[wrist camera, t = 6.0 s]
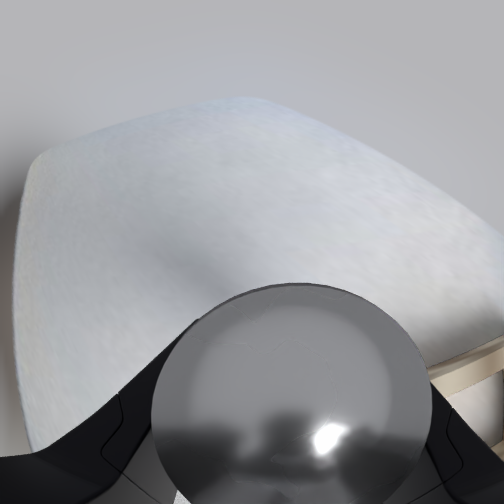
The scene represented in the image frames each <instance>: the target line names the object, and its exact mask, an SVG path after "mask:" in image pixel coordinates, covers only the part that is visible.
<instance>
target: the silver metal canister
mask: <svg viewBox="0 0 504 504" xmlns="http://www.w3.org/2000/svg"><path fill="white" fill-rule="evenodd" d="M431 416H432V391H431V385H430V379H429V375H428V372H427V369H426V366H425V363H424V360H423V358H422V356H421V354H420V352H419V350H418V348H417V346H416V345H415V344H414V342H413V341H412V339H411V338H410V336H409V335H408V333H407V332H406V331H405V330H404V329H403V328H402V327H401V326H400V325H399V324H398V323H397V322H396V321H395V320H394V319H393V318H392V317H390V316H389V315H388V314H387V313H385V312H384V311H383V310H382V309H380V308H379V307H377V306H376V305H374V304H372V303H371V302H369V301H367V300H366V299H364V298H362V297H360V296H358V295H355V294H353V293H350V292H348V291H346V290H342V289H338V288H335V287H331V286H327V285H320V284H312V283H284V284H276V285H269V286H265V287H261V288H257V289H253V290H250V291H247V292H245V293H242V294H240V295H237V296H234V297H232V298H230V299H229V300H227V301H225V302H223V303H221V304H219V305H217V306H216V307H214V308H213V309H212V310H210V311H209V312H208V313H206V314H205V315H203V316H202V317H201V318H200V319H199V320H198V321H197V322H195V323H194V324H193V325H192V326H191V327H190V328H189V329H188V330H187V331H186V333H185V334H184V335H183V336H182V337H181V339H180V340H179V341H178V342H177V344H176V345H175V347H174V349H173V350H172V352H171V354H170V355H169V357H168V359H167V360H166V362H165V364H164V366H163V368H162V371H161V373H160V375H159V378H158V380H157V384H156V387H155V391H154V395H153V402H152V411H151V421H152V433H153V439H154V444H155V447H156V450H157V453H158V456H159V459H160V462H161V464H162V466H163V468H164V470H165V472H166V473H167V475H168V477H169V478H170V480H171V481H172V483H173V484H174V485H175V487H176V488H177V489H178V490H179V492H180V493H181V494H182V495H183V496H184V497H185V498H186V499H187V500H188V501H189V502H190V503H191V504H382V503H383V502H385V501H386V500H387V499H388V498H389V497H390V496H391V495H392V494H393V493H394V492H395V491H396V490H397V489H398V488H399V487H400V486H401V485H402V483H403V482H404V481H405V480H406V478H407V477H408V476H409V474H410V473H411V471H412V470H413V468H414V466H415V465H416V463H417V461H418V459H419V457H420V455H421V453H422V450H423V448H424V446H425V443H426V440H427V436H428V433H429V429H430V424H431Z"/></svg>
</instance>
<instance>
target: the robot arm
mask: <svg viewBox="0 0 504 504" xmlns="http://www.w3.org/2000/svg"><path fill="white" fill-rule="evenodd" d="M198 320H199V319H196V320H195V321H194V322H193V323H192V324H191V325H189V326H188V327H187V328H186V329H185V330H184V331H183V332H182V333H181V334H180V335H179V336H178V337H177V338H176V339H175V340H174V341H173V342H171V343H170V344H169V345H168V346H167V347H166V348H165V349H164V350H163V351H162V352H161V353H160V354H159V355H158V356H157V357H155V358H154V359H153V360H152V361H151V362H150V363H149V364H148V365H147V366H146V367H145V368H144V369H143V370H142V371H140V372H139V373H138V374H137V375H136V376H135V377H134V378H133V379H132V380H131V381H130V382H129V383H128V384H127V385H125V386H124V387H123V388H122V389H121V390H120V391H119V392H118V394H116V395H115V396H113V397H112V398H111V399H110V400H109V401H108V402H107V403H106V404H105V405H103V406H102V407H101V408H100V409H99V410H98V411H97V412H95V413H94V414H93V415H92V416H90V417H89V418H88V419H86V420H85V421H84V422H82V423H81V424H80V425H78V426H77V427H76V428H74V429H73V430H71V431H70V432H68V433H67V434H66V435H64V436H63V437H61V438H60V439H59V440H57V441H56V442H54V443H53V444H51V445H50V446H48V447H47V448H45V449H43V450H40V451H38V452H35V453H31V454H24V455H16V456H7V457H0V504H173V503H174V500H175V496H176V493H177V490H178V489H177V488H176V487H175V485H174V484H173V483H172V481H171V480H170V478H169V477H168V475H167V473H166V472H165V470H164V468H163V466H162V464H161V462H160V459H159V456H158V453H157V450H156V447H155V444H154V439H153V433H152V421H151V411H152V402H153V395H154V391H155V387H156V384H157V380H158V378H159V375H160V373H161V371H162V368H163V366H164V364H165V362H166V360H167V359H168V357H169V355H170V354H171V352H172V350H173V349H174V347H175V345H176V344H177V342H178V341H179V340H180V339H181V337H182V336H183V335H184V334H185V333H186V331H187V330H188V329H189V328H190V327H191V326H192V325H193V324H194V323H195V322H197V321H198ZM430 385H431V391H432V416H431V424H430V429H429V433H428V436H427V440H426V443H425V446H424V448H423V450H422V453H421V455H420V457H419V459H418V461H417V463H416V465H415V466H414V468H413V470H412V471H411V473H410V474H409V476H408V477H407V478H406V480H405V481H404V482H403V483H402V485H401V486H400V487H399V488H398V489H397V490H396V491H395V492H394V493H393V494H392V495H391V496H390V497H389V498H388V499H387V500H386V501H385V502H383V503H382V504H504V461H503V460H502V459H501V458H500V457H499V456H498V455H497V454H496V453H495V452H494V451H493V450H492V449H491V448H490V447H489V446H488V445H487V444H486V443H485V442H484V441H483V440H482V439H481V438H480V437H479V436H478V435H477V434H476V433H475V432H474V431H473V430H472V429H471V428H470V427H469V426H468V424H467V423H466V422H465V421H464V420H463V419H462V418H461V416H460V415H459V414H458V413H457V412H456V410H455V409H454V408H452V406H451V405H450V403H449V402H448V401H447V400H446V399H445V398H444V396H443V395H442V394H441V393H440V392H439V391H438V389H437V388H436V387H435V386H434V385H433V384H432V382H431V381H430Z"/></svg>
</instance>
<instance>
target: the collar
mask: <svg viewBox="0 0 504 504" xmlns="http://www.w3.org/2000/svg"><path fill="white" fill-rule="evenodd" d="M426 369H427V372H428V375H429V379H430V381H431V382H432V384H433V385H434V386H435V387H436V388H437V389H438V391H439V392H440V393H441V394H442V395H443V396H444V398H446V397H448V396H450V395H453V394H455V393H457V392H459V391H461V390H464V389H466V388H468V387H470V386H472V385H474V384H476V383H478V382H480V381H482V380H484V379H486V378H487V377H489V376H491V375H493V374H495V373H497V372H499V371H500V370H502V369H503V377H504V335H502V336H500V337H498V338H496V339H494V340H492V341H490V342H488V343H486V344H484V345H482V346H479V347H477V348H475V349H473V350H471V351H468V352H466V353H464V354H461V355H459V356H457V357H454V358H452V359H449V360H447V361H445V362H442V363H439V364H437V365H434V366H432V367H429V368H426ZM491 449H492V450H493V451H494V452H495V453H496V454H497V455H498V456H499V457H500V458H501V459H502V460H503V461H504V425H503V440H502V441H501V442H499V443H498V444H496V445H495V446H493V447H491Z"/></svg>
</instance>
